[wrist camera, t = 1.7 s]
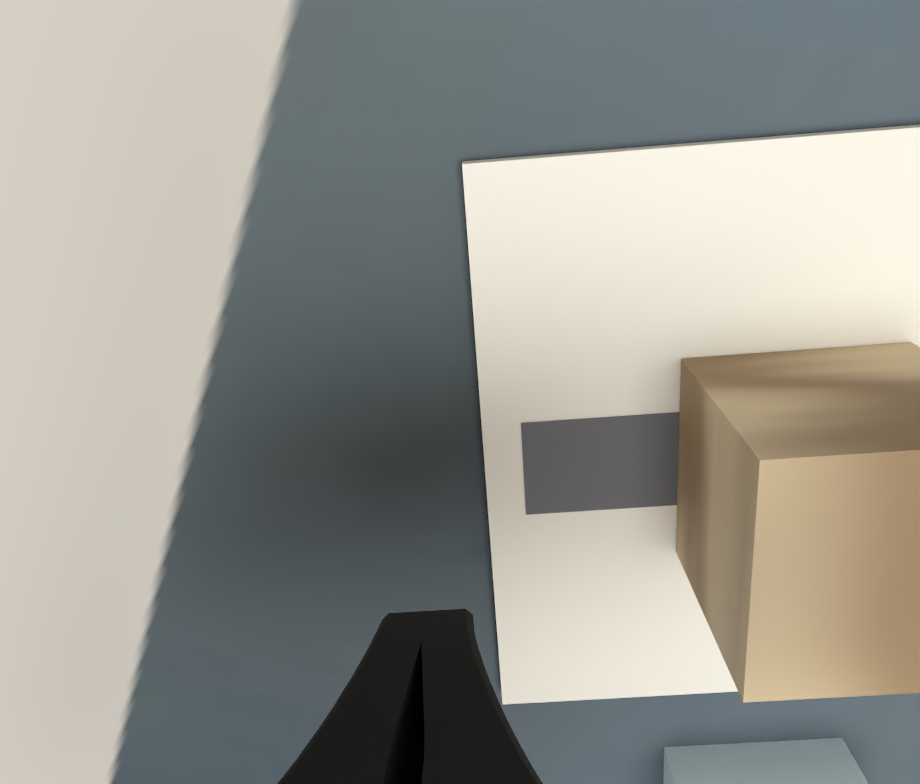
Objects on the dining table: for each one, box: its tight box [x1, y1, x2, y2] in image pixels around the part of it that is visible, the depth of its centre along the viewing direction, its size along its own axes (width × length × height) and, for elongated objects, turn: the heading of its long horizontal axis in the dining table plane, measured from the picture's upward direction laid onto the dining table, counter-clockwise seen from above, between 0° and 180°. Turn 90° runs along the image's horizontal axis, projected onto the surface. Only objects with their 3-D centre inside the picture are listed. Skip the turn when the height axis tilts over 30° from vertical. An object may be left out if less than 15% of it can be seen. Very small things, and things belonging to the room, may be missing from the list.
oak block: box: [676, 342, 920, 702], centre depth 16 cm, size 5×5×5 cm
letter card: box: [462, 124, 920, 704], centre depth 18 cm, size 14×14×1 cm
